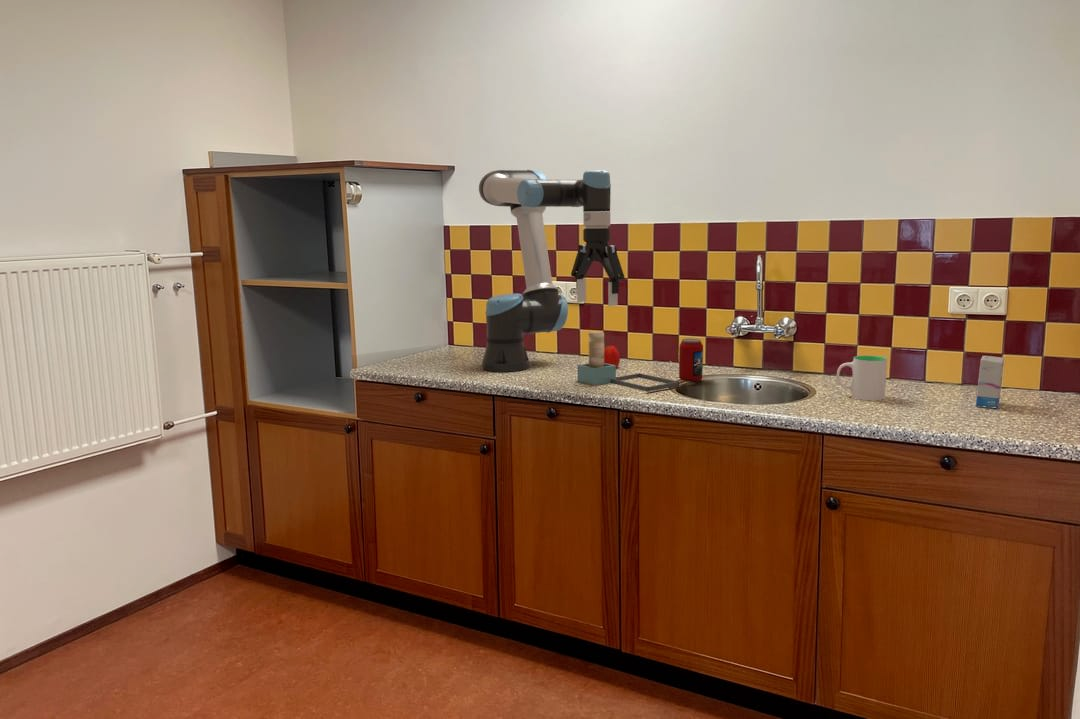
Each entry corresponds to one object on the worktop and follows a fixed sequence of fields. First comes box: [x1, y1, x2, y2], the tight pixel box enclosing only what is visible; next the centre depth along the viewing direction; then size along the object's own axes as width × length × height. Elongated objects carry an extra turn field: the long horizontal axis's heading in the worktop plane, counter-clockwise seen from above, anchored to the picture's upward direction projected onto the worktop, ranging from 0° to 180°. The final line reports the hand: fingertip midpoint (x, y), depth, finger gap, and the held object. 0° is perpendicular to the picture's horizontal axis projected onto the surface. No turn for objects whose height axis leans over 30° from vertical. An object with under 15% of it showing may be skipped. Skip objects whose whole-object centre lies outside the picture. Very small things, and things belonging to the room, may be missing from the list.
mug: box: [836, 355, 888, 401], centre depth 210 cm, size 12×8×10 cm
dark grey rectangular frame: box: [611, 372, 680, 395], centre depth 227 cm, size 16×12×2 cm
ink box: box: [975, 355, 1005, 409], centre depth 199 cm, size 9×5×12 cm, turn 148°
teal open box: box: [576, 362, 617, 386], centre depth 231 cm, size 8×8×6 cm
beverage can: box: [678, 338, 704, 383], centre depth 233 cm, size 7×7×12 cm
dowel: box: [588, 331, 605, 368], centre depth 230 cm, size 4×4×14 cm
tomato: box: [604, 345, 621, 369], centre depth 252 cm, size 9×9×8 cm
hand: (596, 303), depth 228 cm, fingers open, 13 cm apart
